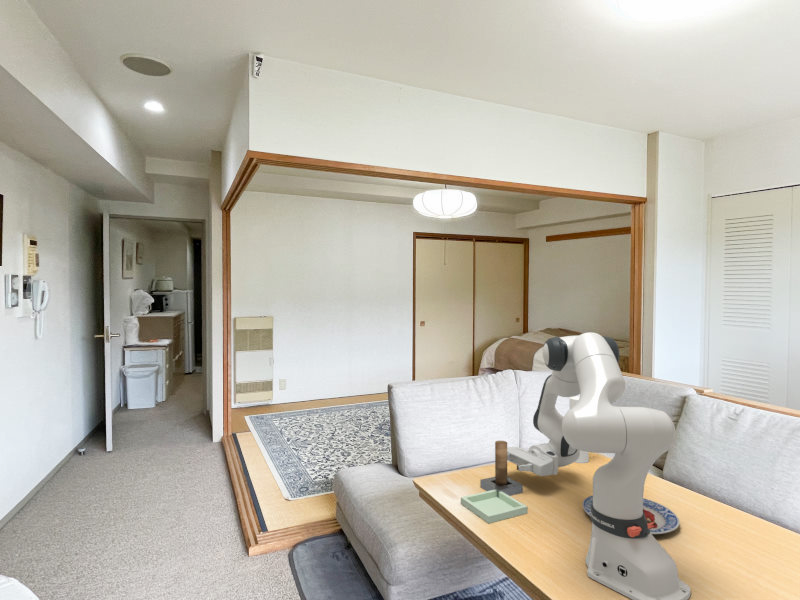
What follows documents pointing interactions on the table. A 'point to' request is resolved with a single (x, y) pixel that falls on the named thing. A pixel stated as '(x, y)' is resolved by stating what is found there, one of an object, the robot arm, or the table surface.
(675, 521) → the ceramic plate
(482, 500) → the tray
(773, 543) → the table surface
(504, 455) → the dowel
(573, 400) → the cylindrical container
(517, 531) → the table surface
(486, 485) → the socket block
